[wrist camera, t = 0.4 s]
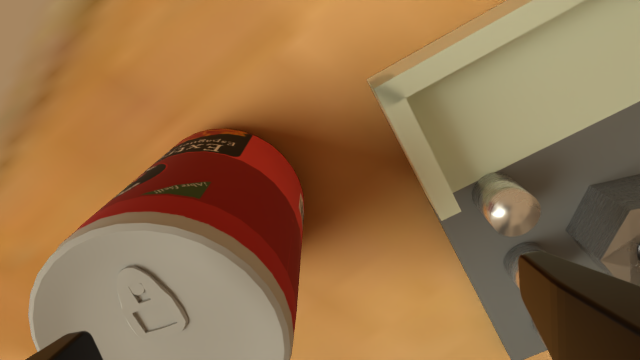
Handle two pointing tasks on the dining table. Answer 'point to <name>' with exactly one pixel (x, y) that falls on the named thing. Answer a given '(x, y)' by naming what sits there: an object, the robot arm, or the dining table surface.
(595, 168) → the mat
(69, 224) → the dining table surface
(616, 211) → the steel nut
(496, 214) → the standoffs
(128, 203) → the canned food
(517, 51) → the parts tray
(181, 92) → the dining table surface
